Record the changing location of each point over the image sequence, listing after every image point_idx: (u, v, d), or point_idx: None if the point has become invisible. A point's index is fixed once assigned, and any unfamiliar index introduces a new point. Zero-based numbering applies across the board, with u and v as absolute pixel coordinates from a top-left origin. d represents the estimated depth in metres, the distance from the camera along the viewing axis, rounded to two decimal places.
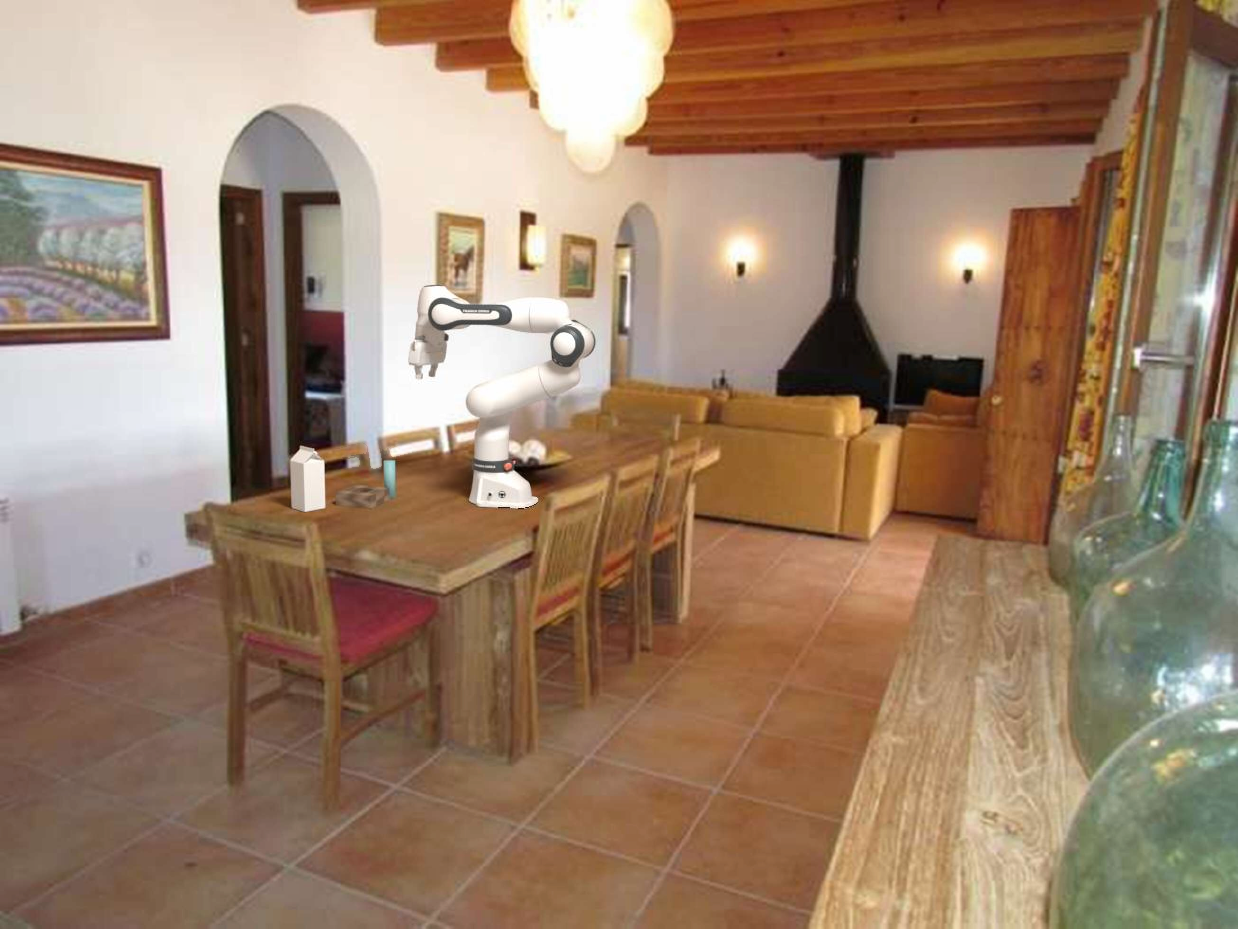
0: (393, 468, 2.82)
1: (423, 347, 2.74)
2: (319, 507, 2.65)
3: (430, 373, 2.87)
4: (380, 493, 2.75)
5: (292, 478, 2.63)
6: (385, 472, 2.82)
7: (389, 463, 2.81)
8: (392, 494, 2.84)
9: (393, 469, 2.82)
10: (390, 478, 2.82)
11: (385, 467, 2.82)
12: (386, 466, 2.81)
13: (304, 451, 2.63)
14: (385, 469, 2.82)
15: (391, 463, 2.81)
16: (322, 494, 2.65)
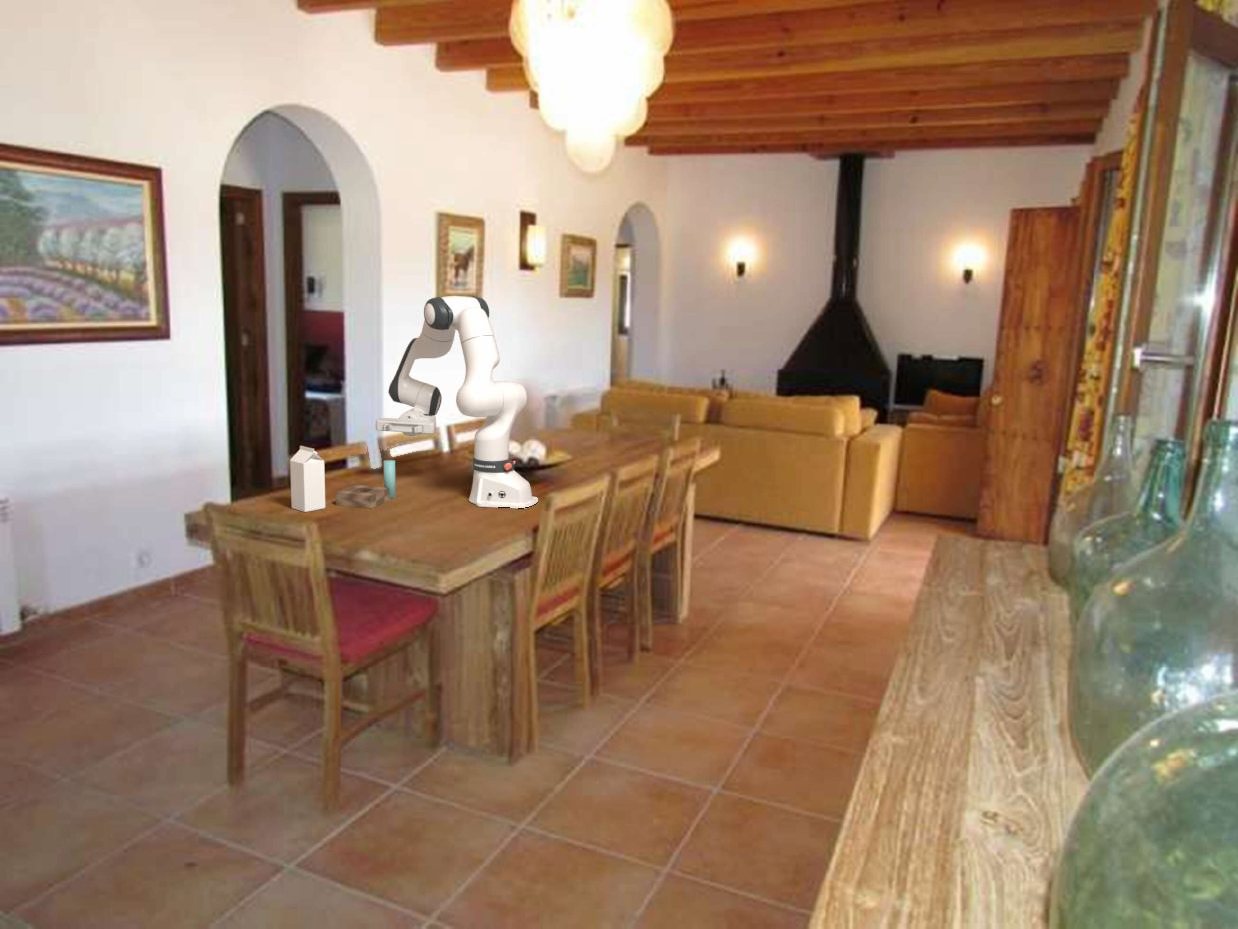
0: (393, 468, 2.82)
1: (388, 418, 3.03)
2: (319, 507, 2.65)
3: None
4: (380, 493, 2.75)
5: (292, 478, 2.63)
6: (385, 472, 2.82)
7: (389, 463, 2.81)
8: (392, 494, 2.84)
9: (393, 469, 2.82)
10: (390, 478, 2.82)
11: (385, 467, 2.82)
12: (386, 466, 2.81)
13: (304, 451, 2.63)
14: (385, 469, 2.82)
15: (391, 463, 2.81)
16: (322, 494, 2.65)
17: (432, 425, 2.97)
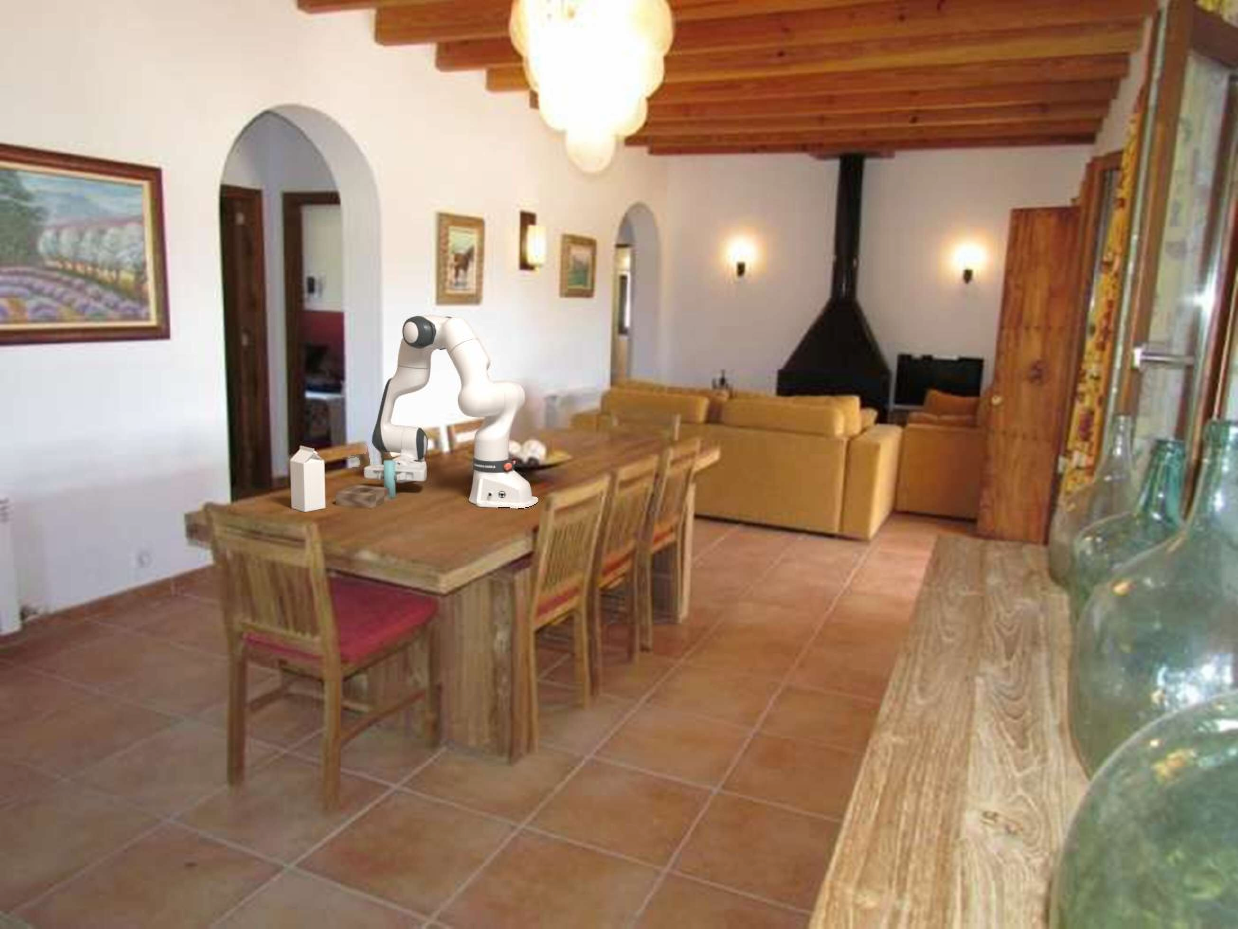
0: (393, 468, 2.82)
1: (377, 464, 2.93)
2: (319, 507, 2.65)
3: None
4: (380, 493, 2.75)
5: (292, 478, 2.63)
6: (385, 472, 2.82)
7: (389, 463, 2.81)
8: (392, 494, 2.84)
9: (393, 469, 2.82)
10: (390, 478, 2.82)
11: (385, 467, 2.82)
12: (386, 466, 2.81)
13: (304, 451, 2.63)
14: (385, 469, 2.82)
15: (391, 463, 2.81)
16: (322, 494, 2.65)
17: (422, 472, 2.87)
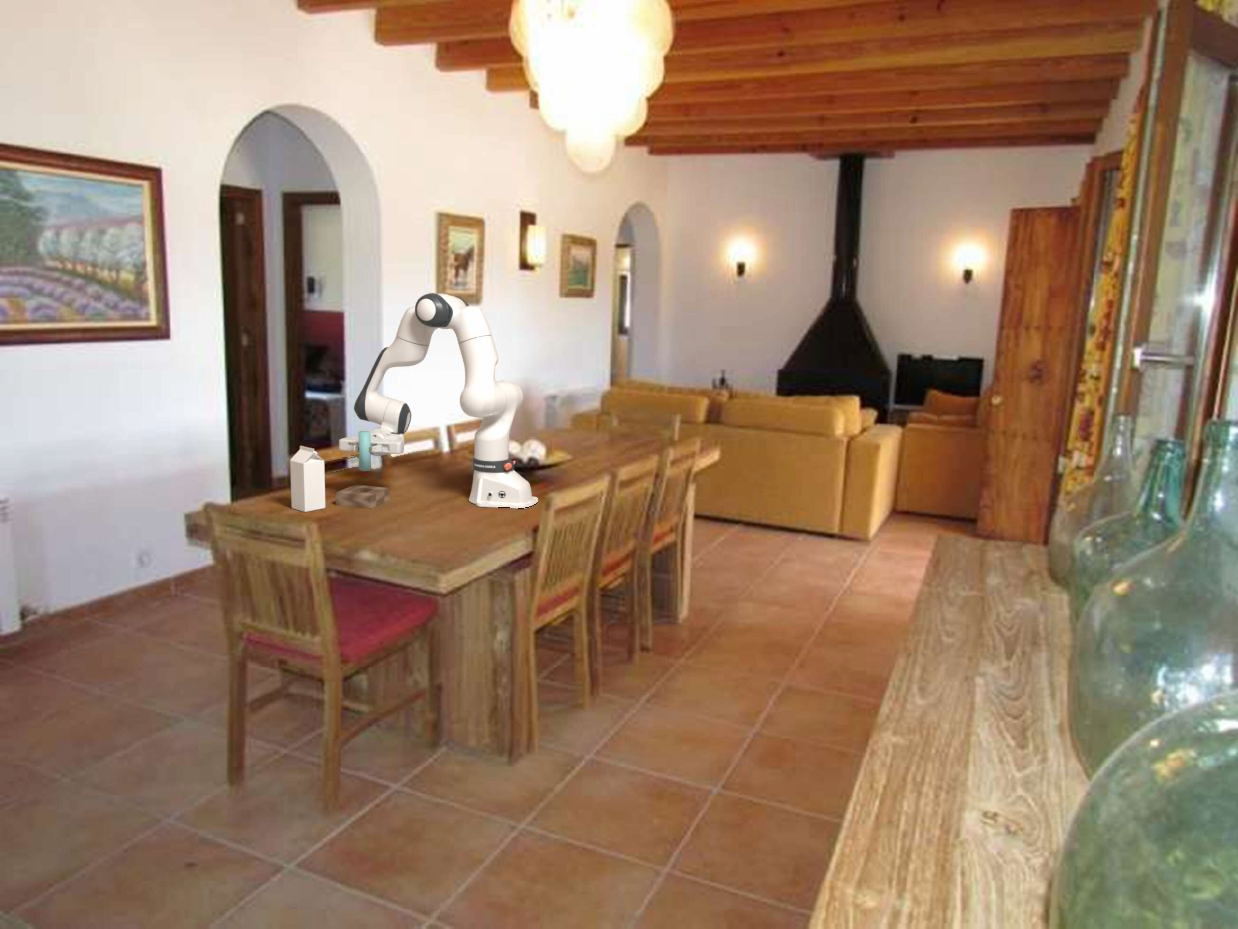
0: (368, 439, 2.73)
1: (353, 437, 2.84)
2: (319, 507, 2.65)
3: None
4: (380, 493, 2.75)
5: (292, 478, 2.63)
6: (360, 443, 2.72)
7: (364, 434, 2.72)
8: (368, 467, 2.74)
9: (368, 440, 2.73)
10: (365, 450, 2.73)
11: (360, 438, 2.72)
12: (361, 437, 2.72)
13: (304, 451, 2.63)
14: (360, 440, 2.72)
15: (366, 434, 2.72)
16: (322, 494, 2.65)
17: (399, 444, 2.78)
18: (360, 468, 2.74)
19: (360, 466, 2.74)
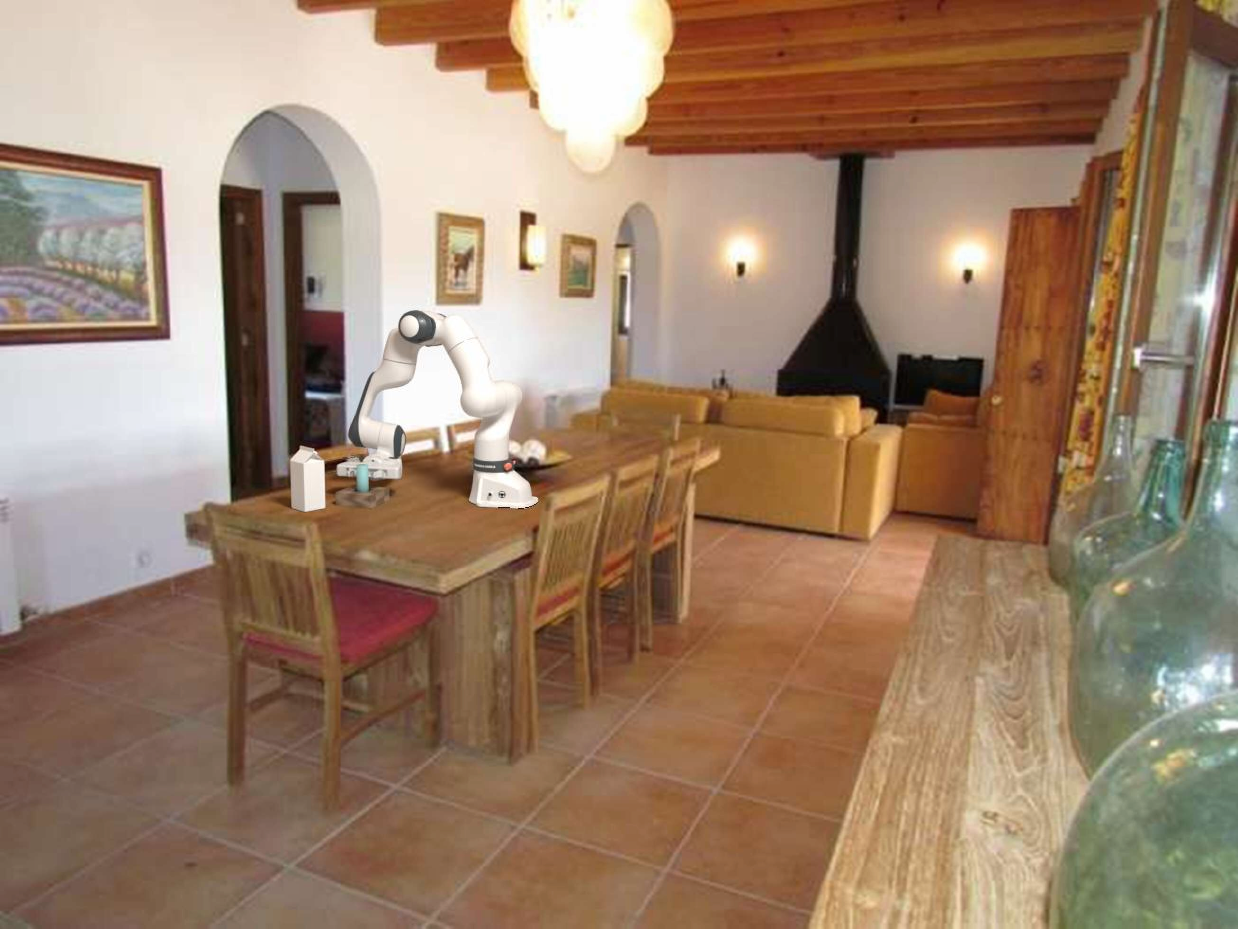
0: (366, 473, 2.74)
1: (351, 462, 2.84)
2: (319, 507, 2.65)
3: None
4: (380, 493, 2.75)
5: (292, 478, 2.63)
6: (358, 477, 2.73)
7: (362, 468, 2.73)
8: None
9: (366, 474, 2.74)
10: (363, 483, 2.74)
11: (358, 472, 2.73)
12: (359, 471, 2.73)
13: (304, 451, 2.63)
14: (358, 474, 2.73)
15: (364, 468, 2.73)
16: (322, 494, 2.65)
17: (396, 470, 2.78)
18: None
19: None
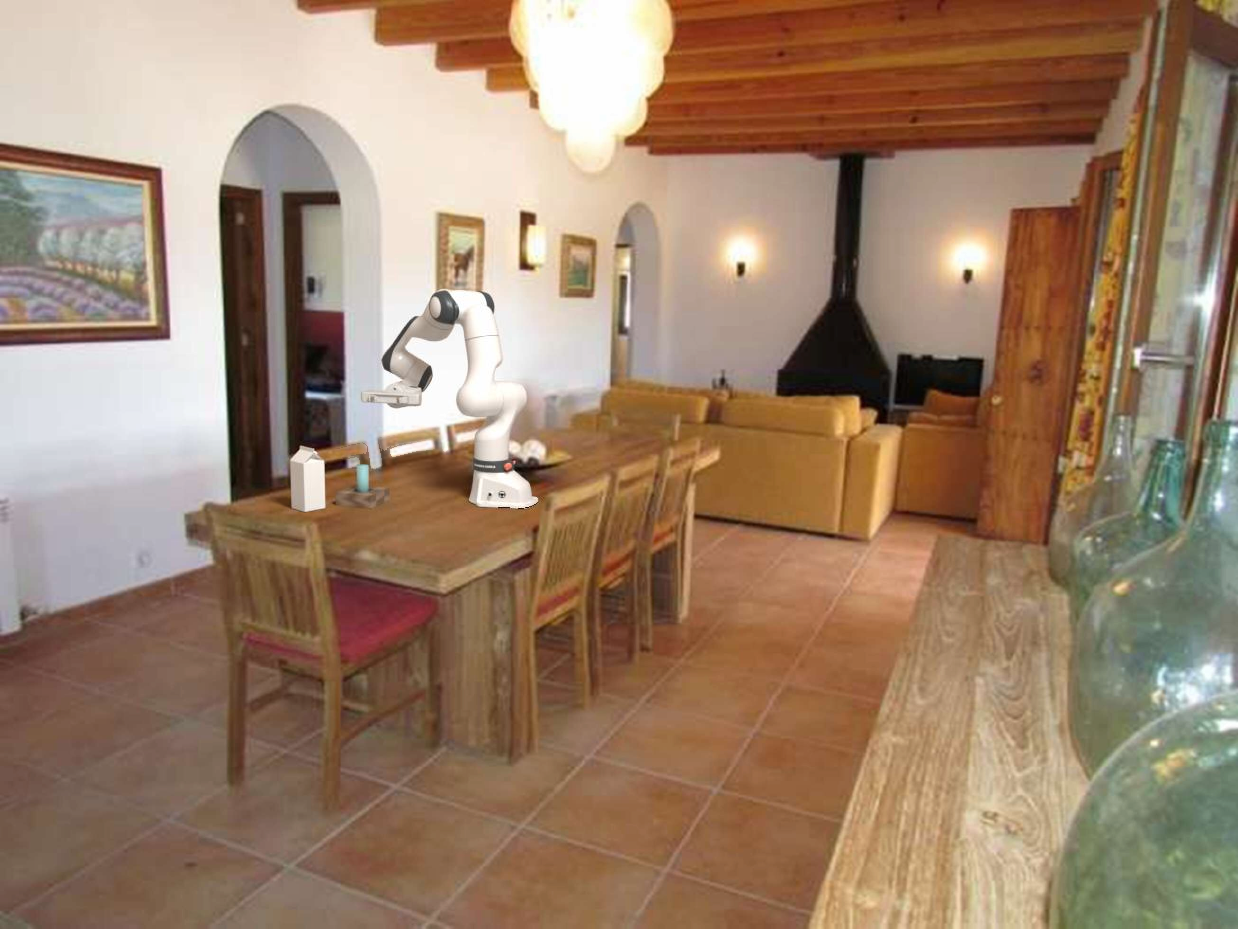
0: (366, 473, 2.74)
1: (374, 390, 3.03)
2: (319, 507, 2.65)
3: None
4: (380, 493, 2.75)
5: (292, 478, 2.63)
6: (358, 477, 2.73)
7: (362, 468, 2.73)
8: None
9: (366, 474, 2.74)
10: (363, 483, 2.74)
11: (358, 472, 2.73)
12: (359, 471, 2.73)
13: (304, 451, 2.63)
14: (358, 474, 2.73)
15: (364, 468, 2.73)
16: (322, 494, 2.65)
17: (417, 396, 2.97)
18: None
19: None
